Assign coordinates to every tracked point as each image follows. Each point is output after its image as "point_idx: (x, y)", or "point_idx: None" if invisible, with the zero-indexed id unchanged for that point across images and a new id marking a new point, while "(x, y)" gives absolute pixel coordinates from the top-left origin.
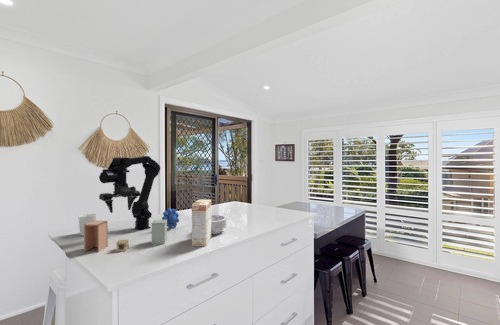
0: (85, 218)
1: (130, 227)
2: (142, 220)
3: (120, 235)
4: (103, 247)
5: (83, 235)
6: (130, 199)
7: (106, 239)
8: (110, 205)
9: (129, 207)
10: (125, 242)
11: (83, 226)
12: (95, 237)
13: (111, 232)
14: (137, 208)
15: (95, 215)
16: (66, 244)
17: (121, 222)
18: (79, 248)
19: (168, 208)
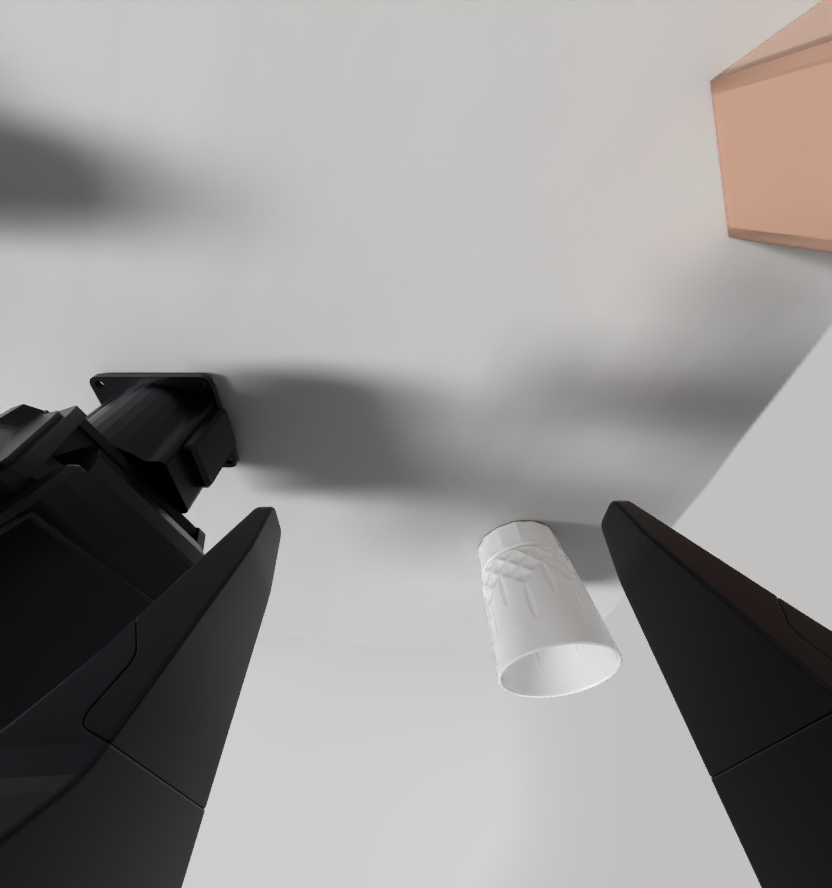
0: (602, 633)
1: (256, 503)
2: (130, 435)
3: (408, 367)
4: (820, 7)
5: (552, 532)
6: (100, 827)
7: (820, 33)
8: (829, 637)
9: (255, 547)
10: None
11: (579, 580)
12: (824, 212)
13: (412, 484)
14: (88, 568)
15: (519, 652)
16: (723, 445)
17: (268, 616)
18: (798, 284)
19: None
